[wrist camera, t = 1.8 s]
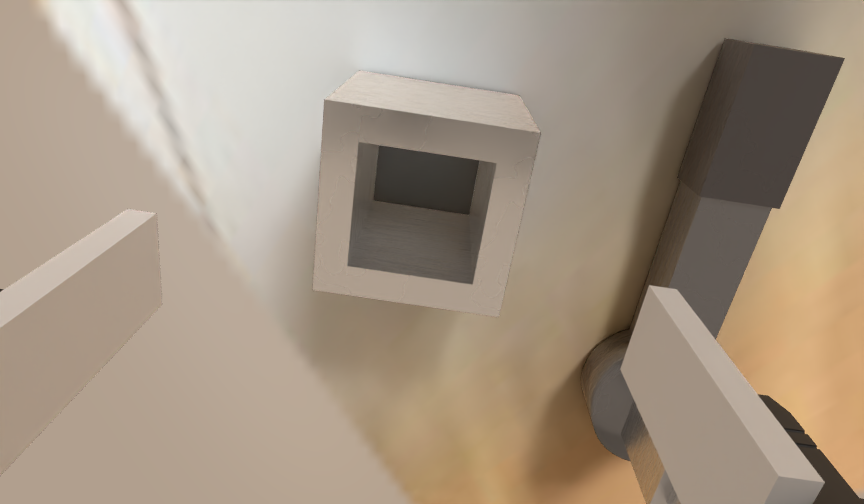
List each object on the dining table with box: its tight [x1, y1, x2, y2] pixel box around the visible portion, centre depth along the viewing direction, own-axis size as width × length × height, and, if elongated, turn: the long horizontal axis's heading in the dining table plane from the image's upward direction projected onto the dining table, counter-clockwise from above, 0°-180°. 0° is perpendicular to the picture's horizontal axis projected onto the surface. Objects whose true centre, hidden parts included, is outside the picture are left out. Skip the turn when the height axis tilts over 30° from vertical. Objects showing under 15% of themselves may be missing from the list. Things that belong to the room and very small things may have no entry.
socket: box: [312, 70, 541, 317], centre depth 23 cm, size 7×7×7 cm
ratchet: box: [581, 38, 845, 504], centre depth 24 cm, size 20×6×8 cm, turn 172°
